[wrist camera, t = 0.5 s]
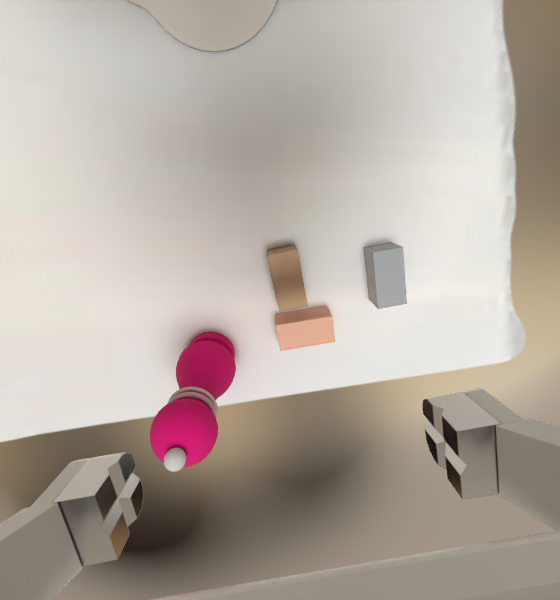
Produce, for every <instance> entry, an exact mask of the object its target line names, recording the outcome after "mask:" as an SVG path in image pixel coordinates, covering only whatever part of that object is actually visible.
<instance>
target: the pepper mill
mask: <svg viewBox="0 0 560 600" xmlns="http://www.w3.org/2000/svg"><path fill="white" fill-rule="evenodd" d="M234 356H235V352H234V348H233V345H232V343H231V342H230V341H229V340H228V339H227V338H226V337H225V336H223V335H221V334H218V333H213V332H208V333H203V334H201V335H199V336H197V337H196V338H195V339H194V340H193V341H192V342H191V344H190V346H188V347H187V348H186V349H185V350H184V351H183V352H182V353H181V355H180V357H179V360H178V363H177V367H176V377H177V382H178V385H179V388H180V389H179V390H178V391H176V392H175V393H174V394H173V395H172V396H171V397H170V399H169V402H168V404H167V405H166V406H164V407H163V408H162V409H161V410H160V411H159V412H158V414H157V415H156V417H155V418H154V420H153V423H152V425H151V430H150V443H151V447H152V449H153V451H154V453H155V455H156V456H157V457H158V458H159V459H160V460H161V461H162V462H164V465H165V467H166V468H167V469H168V470H169V471H178V470H180V469H181V468H182V467H188V466H192V465H195V464H197V463H199V462H201V461H202V460H203V459H204V458H206V457H207V455H208V454H209V453H210V452H211V450H212V448H213V446H214V445H215V442H216V439H217V434H218V425H217V421H216V415H217V403H216V401H215V400H216V399H217V398H218V397H220V396H221V395H222V394H223V393H224V392H225V391H226V390H227V389H228V388H229V386H230V385H231V383H232V381H233V378H234V375H235V371H236V366H235V361H234Z"/></svg>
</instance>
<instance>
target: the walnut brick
mask: <svg viewBox="0 0 560 600" xmlns="http://www.w3.org/2000/svg"><path fill="white" fill-rule="evenodd" d="M267 258H268V263H269V267H270V272H271V276H272V281H273V285H274V290H275V294H276V299H277V303H278V308H279V312H282V311H287V310H291V309H296V308H301V307H306V306H308V305H307V299H306V294H305V289H304V284H303V278H302V273H301V268H300V263H299V257H298V252H297V249H296V247H295V245H289V246H284V247H280V248H275V249H270V250H267Z"/></svg>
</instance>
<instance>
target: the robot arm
mask: <svg viewBox="0 0 560 600" xmlns="http://www.w3.org/2000/svg"><path fill="white" fill-rule="evenodd" d="M129 1H131V2H133V3H134V4H136V5H138V6H141V7H143V8H145V9H146V10H147V11H148V12H149V13H150V14H151V15H152V16H153V17H154V18H155V19H156V20H157V22H158V23H159V24H160V25H161V26H162V27H163V28H164V29H165V30H166V31H167V32H168V33H169V34H170V35H172V36H173V37H174V38H176V39H177V40H179V41H180V42H182V43H184V44H186V45H188V46H190V47H193V48H196V49H200V50H205V51H223V50H228V49H231V48H234V47H237V46H239V45H241V44H243V43H245V42H246V41H248V40H249V39H251V38H252V37H253V36H254V35H255V34H256V33H257V32H258V31H259V30H260V29H261V28H262V27H263V26H264V24H265V23H266V21H267V20H268V18H269V17H270V15H271V13H272V11H273V9H274V7H275V4H276V1H277V0H129ZM423 414H424V415H425V416H426V418H427V419H428V421H429V422H428V424H427V426H426V428H425V434H426V440H427V444H428V447H429V450H430V452H431V454H432V456H433V458H434V460H435V461H436V463H437V464H438V465H439V466H440V467H443V468H444V469H446V470H447V477H448V480H449V481H450V483H451V484H452V486H453V487H454V488H455V490H456V491H457V493H458V494H459V495H460V497H461V498H462V499H463V500H464V499H471V498H479V497H485V496H493V495H500V497H501V498H503V499H505V500H506V501H508V502H510V503H512V504H513V505H515V506H516V507H518V508H520V509H521V510H523V511H525V512H526V513H528V514H530V515H531V516H533V517H535V518H536V519H538V520H539V521H541V522H543V523H544V524H546V525H548V526H549V527H551V528H553V529H554V530H556V531H550V532H545V533H539V534H533V535H528V536H522V537H516V538H511V539H505V540H499V541H493V542H487V543H481V544H475V545H469V546H463V547H457V548H451V549H445V550H439V551H434V552H427V553H422V554H416V555H410V556H404V557H398V558H392V559H386V560H380V561H374V562H368V563H362V564H356V565H350V566H344V567H338V568H333V569H326V570H320V571H315V572H309V573H304V574H297V575H292V576H286V577H280V578H274V579H268V580H262V581H256V582H251V583H245V584H239V585H233V586H228V587H221V588H216V589H210V590H205V591H198V592H193V593H186V594H180V595H174V596H169V597H162V598H157V599H151V600H560V427H557V426H553V425H550V424H546V423H543V422H539V421H536V420H532V419H528V420H523V419H522V418H521V417H520V416H518V415H517V414H516V413H514V412H513V411H512V410H510V409H509V408H508V407H506V406H505V405H503V404H502V403H501V402H499V401H498V400H497V399H495V398H494V397H493V396H491V395H490V394H489V393H487V392H486V391H485V390H483V389H480V388H477V389H472V390H467V391H463V392H459V393H455V394H449V395H444V396H439V397H435V398H430V399H425V400H423ZM134 468H135V462H134V459H133V457H132V455H131V454H129V453H128V452H125V453H119V454H113V455H106V456H99V457H93V458H87V459H81V460H76V461H73V462H71V463H69V465H68V466H67V467H66V468H65V469H64V470H63V471H62V472H61V474H60V475H59V476H58V477H57V478H56V479H55V480H54V481H53V482H52V484H51V485H50V486H49V487H48V488H47V489H46V490H45V491H44V493H43V494H42V495H41V496H40V497H39V498H38V499H37V500H36V502H35V503H34V504H33V505H32V506H31V507H29V508H24V509H23V510H21V511H19V512H18V513H17V514H15V515H13V516H12V517H10V518H9V519H7V520H5V521H4V522H2V523H1V524H0V600H53V599H54V598H55V597H56V596H57V595H58V594H59V593H60V591H62V589H64V587H65V586H66V585H67V584H68V583H69V582H70V581H71V580H72V579H73V578H74V577H75V576H76V575H77V574H78V572H80V571H81V569H82V566H87V565H92V564H96V563H101V562H106V561H111V560H116V559H118V557H119V555H120V553H121V551H122V549H123V546H124V544H125V542H126V540H127V538H128V536H129V530H128V526H129V525H130V524H131V523H132V522H134V521H135V520H136V519H137V517H138V515H139V513H140V510H141V508H142V502H143V488H142V484H141V481H140V479H139V478H138V477H137V476H135V475H134V474H133V470H134Z"/></svg>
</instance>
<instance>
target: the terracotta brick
mask: <svg viewBox="0 0 560 600" xmlns="http://www.w3.org/2000/svg"><path fill="white" fill-rule="evenodd" d="M275 325H276V331H277V336H278V342H279V347H280V351H283V350H289V349H295V348H301V347H307V346H313V345H319V344H325V343H331V342H335V336H334V328H333V320H332V315H331V313H330V311H329V309H328V308H327V306H322V307H316V308H310V309H305V310H299V311H293V312H287V313H281V314H275Z"/></svg>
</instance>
